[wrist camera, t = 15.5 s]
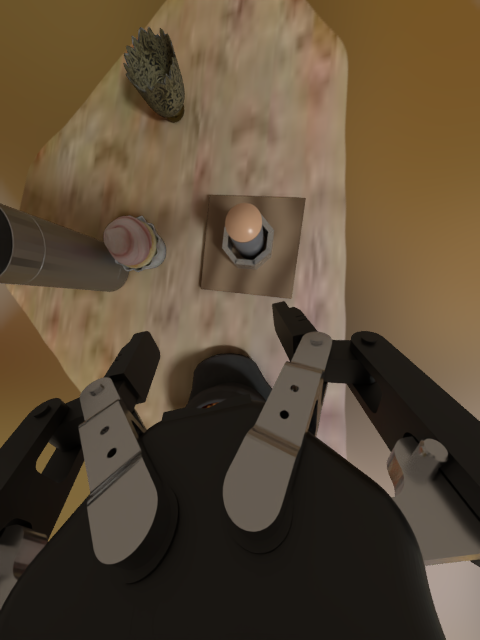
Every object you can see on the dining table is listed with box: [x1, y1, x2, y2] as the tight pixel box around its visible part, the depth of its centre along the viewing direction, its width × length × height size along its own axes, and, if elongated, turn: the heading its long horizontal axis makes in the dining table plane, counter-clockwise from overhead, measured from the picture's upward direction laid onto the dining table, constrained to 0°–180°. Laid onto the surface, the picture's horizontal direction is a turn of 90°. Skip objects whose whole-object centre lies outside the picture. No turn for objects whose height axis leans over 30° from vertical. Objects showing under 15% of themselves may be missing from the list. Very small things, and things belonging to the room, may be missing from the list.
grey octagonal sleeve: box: [222, 214, 274, 270], centre depth 31 cm, size 8×8×4 cm
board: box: [201, 195, 306, 299], centre depth 33 cm, size 16×16×1 cm
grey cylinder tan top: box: [225, 203, 264, 260], centre depth 28 cm, size 4×4×10 cm
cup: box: [123, 27, 185, 122], centre depth 30 cm, size 8×7×8 cm
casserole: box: [185, 353, 272, 408], centre depth 33 cm, size 25×19×8 cm
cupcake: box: [104, 215, 166, 272], centre depth 32 cm, size 9×9×10 cm
